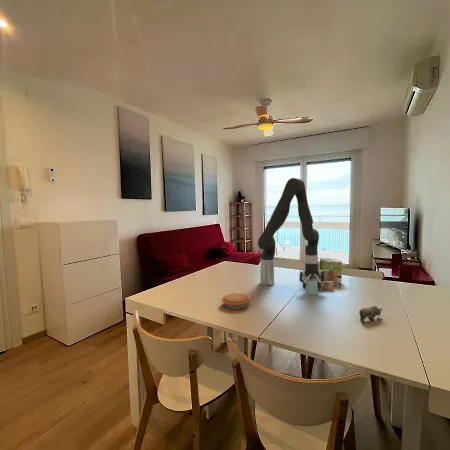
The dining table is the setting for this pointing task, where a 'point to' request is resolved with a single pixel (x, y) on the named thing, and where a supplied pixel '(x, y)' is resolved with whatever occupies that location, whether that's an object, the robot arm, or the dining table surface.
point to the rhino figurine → (369, 313)
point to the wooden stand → (327, 279)
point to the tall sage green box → (311, 286)
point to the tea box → (332, 266)
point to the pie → (236, 301)
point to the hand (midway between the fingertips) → (311, 288)
